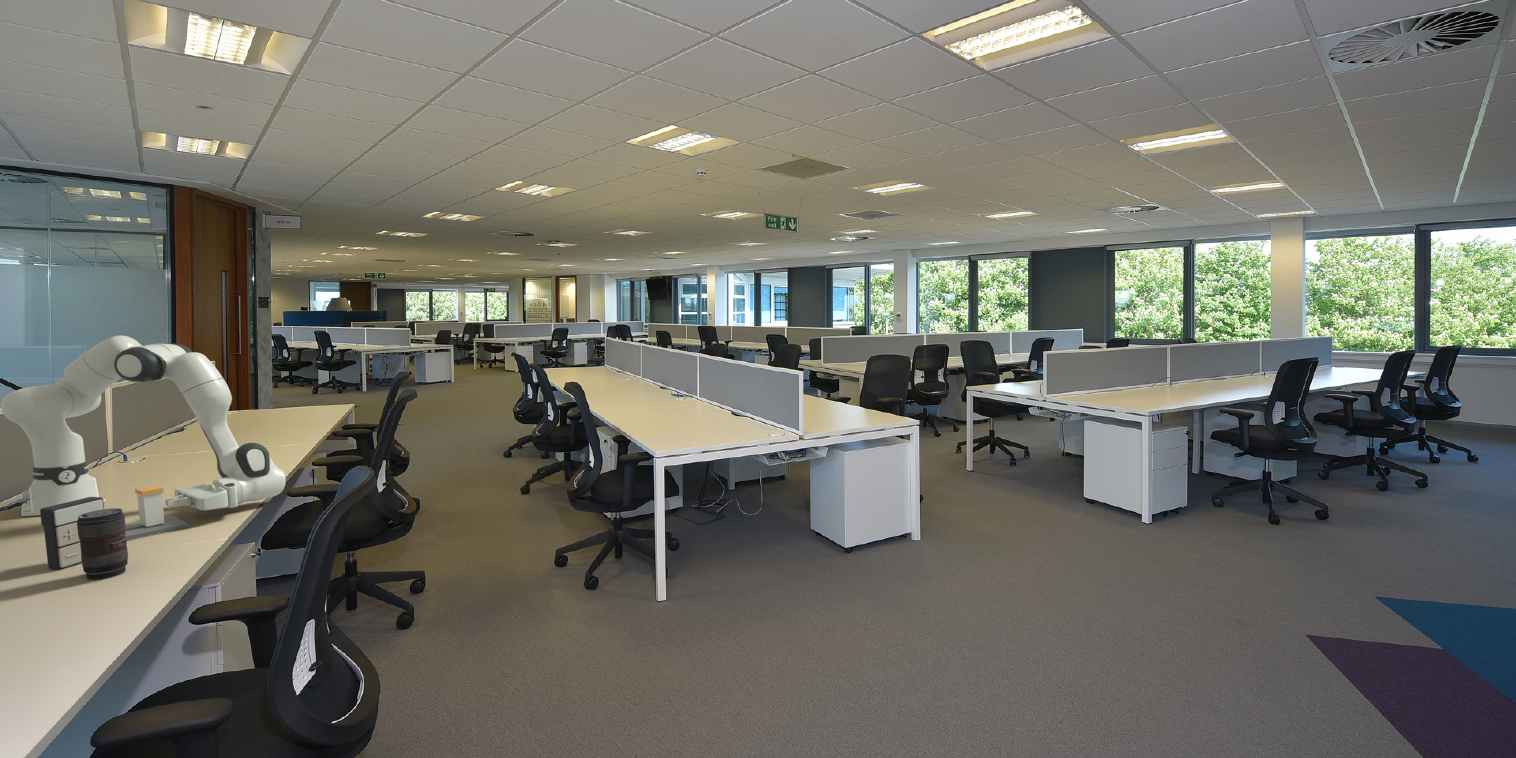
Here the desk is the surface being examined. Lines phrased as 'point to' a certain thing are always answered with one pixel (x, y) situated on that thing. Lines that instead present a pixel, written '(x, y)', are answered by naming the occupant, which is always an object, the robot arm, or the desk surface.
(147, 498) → the fader knob
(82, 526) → the camera lens
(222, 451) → the robot arm
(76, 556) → the calculator
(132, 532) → the fader console
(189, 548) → the desk surface
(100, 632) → the desk surface
